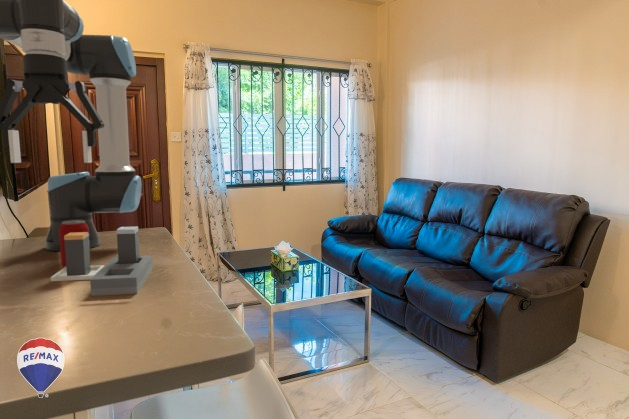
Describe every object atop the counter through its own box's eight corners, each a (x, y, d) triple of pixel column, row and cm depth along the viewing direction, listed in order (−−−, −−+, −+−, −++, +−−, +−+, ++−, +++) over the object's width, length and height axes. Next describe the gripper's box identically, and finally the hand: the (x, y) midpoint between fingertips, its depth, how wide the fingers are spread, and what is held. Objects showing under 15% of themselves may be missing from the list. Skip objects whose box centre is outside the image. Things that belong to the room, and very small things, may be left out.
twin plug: (122, 267, 108) (120, 226, 106) (140, 266, 109) (138, 226, 107) (118, 271, 104) (116, 229, 103) (136, 270, 105) (134, 229, 103)
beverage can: (78, 270, 112) (75, 223, 111) (55, 268, 114) (52, 222, 112) (96, 263, 119) (93, 219, 117) (74, 262, 120) (71, 218, 118)
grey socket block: (115, 272, 111) (114, 256, 110) (153, 270, 112) (152, 255, 112) (91, 298, 91) (90, 279, 91) (137, 295, 93) (136, 277, 92)
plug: (73, 272, 108) (70, 232, 106) (90, 271, 108) (87, 232, 107) (67, 277, 104) (64, 235, 102) (85, 276, 105) (82, 235, 103)
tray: (65, 272, 110) (65, 266, 110) (104, 271, 112) (104, 265, 111) (50, 283, 101) (50, 277, 101) (94, 281, 103) (93, 275, 102)
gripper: (-37, 48, 82) (-26, 163, 85) (106, 54, 87) (112, 163, 89) (-16, 57, 89) (-6, 162, 92) (115, 62, 94) (121, 162, 97)
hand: (52, 162), depth 91 cm, fingers open, 13 cm apart
